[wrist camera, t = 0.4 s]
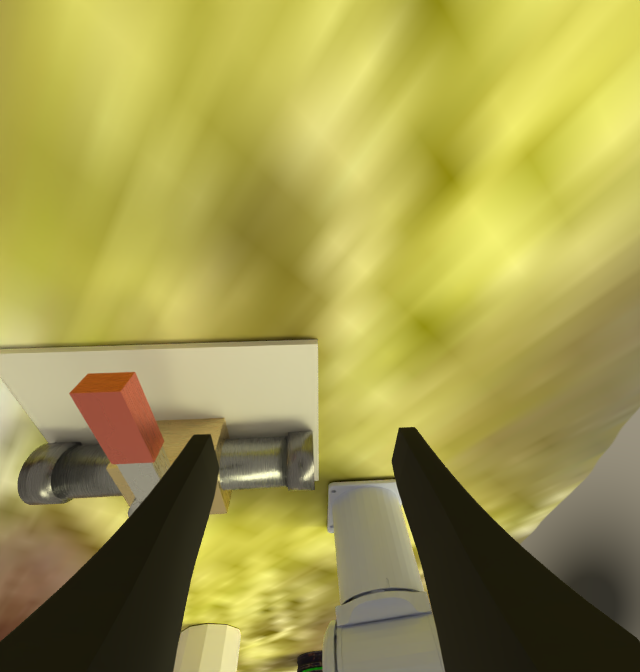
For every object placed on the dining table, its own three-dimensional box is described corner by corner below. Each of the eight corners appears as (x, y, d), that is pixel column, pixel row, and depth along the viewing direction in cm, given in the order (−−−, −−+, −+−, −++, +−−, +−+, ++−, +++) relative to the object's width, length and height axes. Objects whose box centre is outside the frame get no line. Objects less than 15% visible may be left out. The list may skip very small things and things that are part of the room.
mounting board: (318, 475, 30) (318, 480, 29) (89, 486, 29) (85, 492, 28) (317, 339, 21) (317, 344, 21) (-9, 349, 20) (-17, 354, 20)
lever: (207, 510, 23) (199, 540, 21) (148, 513, 23) (136, 544, 21) (154, 371, 16) (136, 398, 14) (68, 374, 15) (38, 402, 14)
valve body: (312, 457, 28) (314, 508, 24) (82, 468, 27) (44, 523, 23) (311, 408, 25) (313, 458, 21) (47, 419, 24) (-4, 473, 20)
